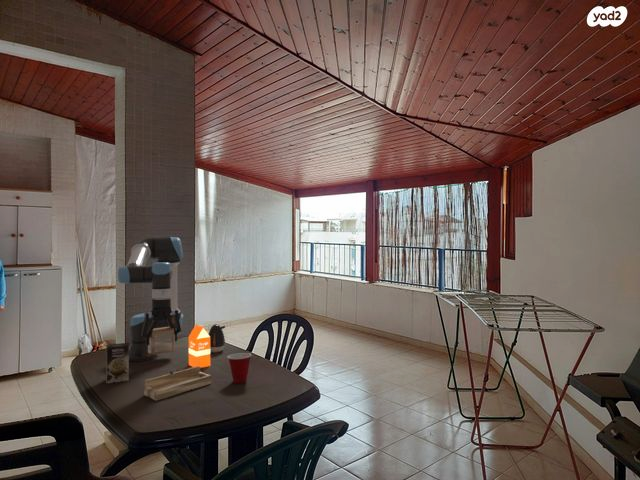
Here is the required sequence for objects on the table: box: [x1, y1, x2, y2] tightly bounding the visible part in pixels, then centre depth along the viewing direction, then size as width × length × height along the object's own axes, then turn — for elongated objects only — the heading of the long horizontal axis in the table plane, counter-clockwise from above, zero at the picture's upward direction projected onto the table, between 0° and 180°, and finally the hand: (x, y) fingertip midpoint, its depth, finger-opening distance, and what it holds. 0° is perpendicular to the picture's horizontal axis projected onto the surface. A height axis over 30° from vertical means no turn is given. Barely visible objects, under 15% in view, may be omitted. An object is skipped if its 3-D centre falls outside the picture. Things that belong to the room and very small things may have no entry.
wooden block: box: [150, 327, 175, 355], centre depth 184 cm, size 5×9×10 cm, turn 126°
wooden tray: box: [143, 366, 212, 401], centre depth 183 cm, size 9×26×7 cm, turn 140°
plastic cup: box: [226, 352, 252, 384], centre depth 193 cm, size 11×11×12 cm
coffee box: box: [105, 342, 130, 384], centre depth 194 cm, size 9×6×16 cm
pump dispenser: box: [208, 323, 226, 353], centre depth 242 cm, size 10×10×15 cm
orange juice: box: [188, 324, 211, 369], centre depth 216 cm, size 8×9×20 cm
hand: (161, 350), depth 184 cm, fingers closed on wooden block, 9 cm apart
